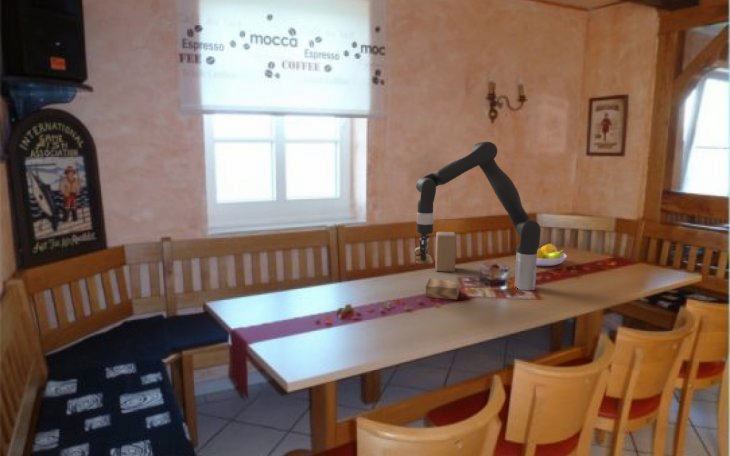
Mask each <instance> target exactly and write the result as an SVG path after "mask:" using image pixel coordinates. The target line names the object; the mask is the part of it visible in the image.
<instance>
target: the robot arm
mask: <svg viewBox="0 0 730 456" xmlns="http://www.w3.org/2000/svg"><path fill="white" fill-rule="evenodd" d="M497 155H498V148H497V146H496V144H495V143H493V142H490V141H481V142H477V143H475V144H474V145H473V146H472V149H471V152H470V153H469V154H468V155H466V156H464V157H463V156H462V158H458V159H457V160H454V161H452V162H450V163H448V164H446V165H444V166H443V167H442V166H441V168H439V169H438V170H436V171H434V172H431V173H429V174H426V175H424V176H421V178H419V179H418V180H417V181H416V184H415V185H416V186H415V187H416V190H417V191H418V192H419V193H420V199H419V200H418V201H417V214H416V233H417V234H420V237H419V247H420V252H421V261H425V260H426V254H428V250H429V247H430V246H429V245H430V234H431V235H432V234H433V233H434V217H435V216H434V201H435V199H436V197H435V196H436V191H437V187H438V186H443V185H446V184H448V183H450V182H451V181H453V180H454V179H456V178H458V177H460V176H461V175H463V174H465V173H467V172H469V171H470V170H472V169H474V168H476V167H478V168H479V167H480V169H481V171H482V172H483V173H484V176H485V177H486V179H487V181H488V183H489V185H490V186H491V188H492V190H493V192H494V193H495V195H496V198H497V199H498V200H499V202H500V203H501V205H502V206H503V208H504V210H505V211H506V212H507V214H508V215H509V217H510V218H509V219H510V220H511V221H512V224H513V227H514V230H515V231H516V233H517V234H518V235H519V236H520V238H519V239H520V240H519V244H518V246H516V258H515V270H514V272H515V274H514V275H515V276H514V287H515V286H516V287H517V288H518V289H517V288H516V289H517V290H520V291H535V290H536V282H537V278H536V277H537V266H536V260H537V250H538V248H539V247H540V242H541V225H540V224H539V223H538V222H537V221H535V220H534V219H532V218H530V216H529V215H528V214H527V212H526V210H525V209H524V207H523V205H522V204H523V203H522V201H521V200H522V199H521V196H520V194H519V191H518V189H517V188H516V185H515V184H514V182H513V180H512V179H511V178H510V177H509V176H508V174H506V173H505V172H504V170H502V169H501V167H500V166H499V165H498V164H497V162H496V160H495V158H496V157H497ZM427 247H428V248H427ZM422 248H424V249H422ZM426 248H427V249H426ZM539 249H540V248H539Z"/></svg>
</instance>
